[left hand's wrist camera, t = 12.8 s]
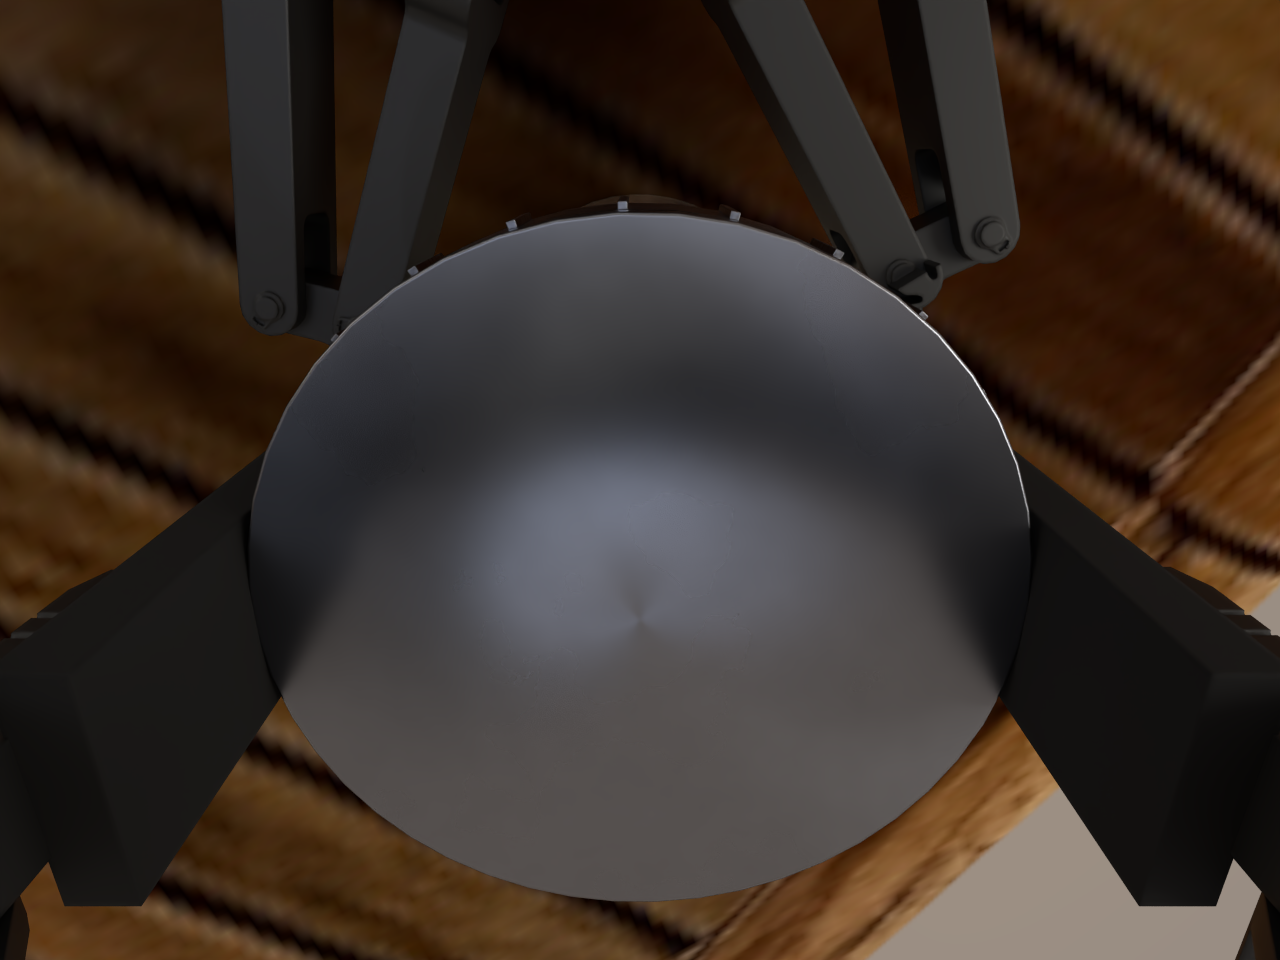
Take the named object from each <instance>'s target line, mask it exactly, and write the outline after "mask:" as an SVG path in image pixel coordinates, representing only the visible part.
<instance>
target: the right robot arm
mask: <svg viewBox="0 0 1280 960" xmlns="http://www.w3.org/2000/svg"><path fill="white" fill-rule="evenodd" d="M701 1H702V3H703V5H704V7H705V9H706V11H707V12H708V14H709V15H710V17H711V18H712V19H713V20H714V22H715V23H716V24H717V26H718V27H719V29H720V31H721V32H722V34H723V36H724V38H725V40H726V42H727V44H728V46H729V48H730V50H731V51H732V53H733V55H734V57H735V59H736V61H737V63H738V65H739V67H740V69H741V71H742V73H743V74H744V76H745V78H746V80H747V82H748V84H749V86H750V88H751V90H752V92H753V94H754V96H755V97H756V99H757V101H758V103H759V105H760V107H761V109H762V111H763V113H764V115H765V117H766V119H767V121H768V122H769V124H770V126H771V128H772V130H773V132H774V134H775V136H776V138H777V140H778V142H779V144H780V145H781V147H782V149H783V151H784V153H785V155H786V157H787V159H788V161H789V163H790V165H791V167H792V168H793V170H794V172H795V174H796V176H797V178H798V180H799V182H800V184H801V186H802V188H803V190H804V191H805V193H806V195H807V197H808V199H809V201H810V203H811V205H812V207H813V209H814V211H815V213H816V214H817V216H818V218H819V220H820V222H821V224H822V226H823V228H824V230H825V232H826V234H827V236H828V237H829V239H830V241H831V243H832V245H833V247H834V248H836V249H838V250H840V251H842V252H844V255H843V256H842V258H841V260H842V261H844V262H846V263H848V264H850V265H852V266H853V267H855V268H856V269H858V270H859V271H861V272H862V273H864V274H866V275H867V276H869V277H870V278H872V279H873V280H875V281H876V282H878V283H879V284H881V285H882V286H884V287H885V288H887V289H888V290H890V291H892V292H893V293H895V294H896V295H898V296H899V297H900V298H901V299H902V300H904V301H905V302H907V303H909V304H911V305H913V306H915V307H916V308H918V309H920V310H922V308H923V307H925V306H927V305H928V304H929V303H930V302H931V301H932V300H934V299H935V298H936V296H937V294H938V293H939V291H940V289H941V287H942V282H943V280H944V279H946V278H947V277H949V276H952V275H954V274H956V273H958V272H960V271H962V270H965V269H967V268H969V267H971V266H973V265H975V264H978V263H983V264H987V263H995V262H997V261H999V260H1001V259H1003V258H1004V257H1006V256H1007V255H1008V254H1009V253H1010V252H1011V251H1012V250H1013V248H1014V247H1015V245H1016V243H1017V240H1018V238H1019V235H1020V220H1019V214H1018V207H1017V200H1016V194H1015V187H1014V181H1013V174H1012V167H1011V161H1010V154H1009V147H1008V141H1007V134H1006V127H1005V121H1004V114H1003V108H1002V101H1001V94H1000V88H999V81H998V74H997V68H996V61H995V54H994V48H993V41H992V35H991V28H990V21H989V15H988V8H987V1H986V0H878V4H879V9H880V14H881V20H882V25H883V30H884V35H885V40H886V45H887V50H888V56H889V61H890V66H891V71H892V76H893V81H894V86H895V92H896V97H897V102H898V107H899V112H900V117H901V122H902V128H903V133H904V138H905V143H906V148H907V153H908V158H909V164H910V169H911V174H912V179H913V184H914V189H915V194H916V200H917V205H918V210H919V215H918V216H916V217H914V218H912V219H910V220H909V218H908V216H907V214H906V212H905V210H904V208H903V206H902V204H901V202H900V199H899V197H898V195H897V193H896V191H895V189H894V187H893V185H892V183H891V181H890V179H889V177H888V175H887V172H886V170H885V168H884V166H883V164H882V162H881V160H880V158H879V156H878V154H877V152H876V150H875V148H874V145H873V143H872V141H871V139H870V137H869V135H868V133H867V131H866V129H865V127H864V125H863V123H862V121H861V118H860V116H859V114H858V112H857V110H856V108H855V106H854V104H853V102H852V100H851V98H850V96H849V94H848V92H847V89H846V87H845V85H844V83H843V81H842V79H841V77H840V75H839V73H838V71H837V69H836V67H835V65H834V62H833V60H832V58H831V56H830V54H829V52H828V50H827V48H826V46H825V44H824V42H823V40H822V38H821V35H820V33H819V31H818V29H817V27H816V25H815V23H814V21H813V19H812V17H811V15H810V13H809V11H808V8H807V6H806V4H805V2H804V0H701ZM508 2H509V0H405V14H404V19H403V24H402V28H401V32H400V36H399V40H398V45H397V49H396V53H395V57H394V61H393V66H392V70H391V74H390V78H389V82H388V87H387V91H386V95H385V99H384V104H383V108H382V112H381V116H380V120H379V125H378V129H377V133H376V137H375V141H374V146H373V150H372V154H371V158H370V162H369V167H368V171H367V175H366V179H365V184H364V188H363V192H362V196H361V200H360V205H359V209H358V213H357V217H356V221H355V226H354V230H353V234H352V238H351V242H350V247H349V251H348V255H347V259H346V264H345V268H344V272H343V276H342V277H341V276H337V235H336V169H335V102H334V36H333V0H222V12H223V29H224V46H225V63H226V79H227V96H228V113H229V129H230V146H231V163H232V179H233V196H234V213H235V230H236V246H237V263H238V280H239V296H240V306H241V310H242V314H243V316H244V318H245V319H246V321H247V322H248V324H249V325H250V326H251V327H253V328H254V329H255V330H257V331H258V332H260V333H263V334H266V335H269V336H273V335H282V334H284V333H289V334H293V335H297V336H301V337H305V338H310V339H314V340H318V341H321V342H324V343H326V344H328V345H331V344H332V343H333V342H332V341H331V339H332V337H333V336H334V335H335V334H336V333H338V332H340V331H341V330H343V329H345V328H346V327H347V326H348V325H349V324H350V323H351V322H352V321H353V320H355V319H356V318H357V317H358V316H359V315H361V314H362V313H363V312H364V311H366V310H367V309H368V308H369V307H370V306H372V305H373V304H374V303H375V302H376V301H378V300H379V299H380V298H381V297H383V296H384V295H385V294H386V293H387V292H389V291H390V290H391V289H392V288H393V287H395V286H397V285H398V284H400V283H402V282H403V281H405V280H407V279H408V278H410V277H411V275H410V274H409V272H408V270H409V269H410V268H412V267H413V266H415V265H417V264H419V263H421V262H423V261H425V260H428V259H430V258H432V257H434V253H435V249H436V246H437V242H438V238H439V235H440V231H441V228H442V224H443V220H444V217H445V213H446V210H447V206H448V202H449V199H450V195H451V191H452V188H453V184H454V181H455V177H456V173H457V170H458V166H459V162H460V159H461V155H462V152H463V148H464V144H465V141H466V137H467V133H468V130H469V126H470V123H471V119H472V115H473V112H474V108H475V105H476V101H477V97H478V94H479V90H480V86H481V83H482V79H483V76H484V72H485V68H486V65H487V61H488V58H489V55H490V52H491V50H492V48H493V46H494V45H495V43H496V41H497V39H498V36H499V34H500V30H501V27H502V24H503V20H504V17H505V13H506V10H507V6H508Z"/></svg>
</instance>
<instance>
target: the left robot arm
mask: <svg viewBox="0 0 1280 960" xmlns="http://www.w3.org/2000/svg"><path fill="white" fill-rule="evenodd" d="M1013 451H1014V450H1013ZM265 453H266V451H265V452H264V453H262V454H261V455H260V456H259V457H257V458H256V459H255V460H253V461H252V462H251V463H250V464H248V465H247V466H246V467H245V468H243V469H242V470H241V471H239V472H238V473H237V474H236V475H234V476H233V477H232V478H231V479H229V480H228V481H227V482H225V483H224V484H223V485H222V486H220V487H219V488H218V489H216V490H215V491H214V492H213V493H211V494H210V495H209V496H208V497H206V498H205V499H204V500H202V501H201V502H200V503H199V504H197V505H196V506H195V507H194V508H192V509H191V510H190V511H188V512H187V513H186V514H185V515H183V516H182V517H181V518H179V519H178V520H177V521H176V522H174V523H173V524H172V525H171V526H169V527H168V528H167V529H165V530H164V531H163V532H162V533H160V534H159V535H158V536H157V537H155V538H154V539H153V540H151V541H150V542H149V543H148V544H146V545H145V546H144V547H142V548H141V549H140V550H139V551H137V552H136V553H135V554H134V555H132V556H131V557H130V558H128V559H127V560H126V561H125V562H123V563H122V564H121V565H120V566H118V567H117V568H116V569H114V570H110V571H108V572H105V573H103V574H101V575H99V576H97V577H95V578H93V579H91V580H88V581H86V582H84V583H82V584H80V585H78V586H76V587H74V588H71V589H69V590H68V591H66V592H65V593H64V594H62V595H61V596H60V597H58V598H57V599H56V600H55V601H53V602H52V603H51V604H49V605H48V606H47V607H45V608H44V609H43V610H41V611H40V612H39V613H37V615H38V616H37V618H31V619H29V620H28V621H27V622H25V623H24V624H23V625H21V626H20V627H19V628H18V629H16V630H15V631H14V632H12V633H11V638H4V639H3V640H2V641H0V960H25V956H26V950H27V944H28V937H29V931H30V929H29V924H28V918H27V913H26V910H25V908H24V905H23V903H22V900H21V897H20V895H21V893H22V892H23V891H24V890H25V889H26V887H27V886H28V885H29V884H30V883H31V881H32V880H33V879H34V878H35V877H36V875H37V874H38V873H39V872H40V871H41V870H42V868H43V867H44V866H45V865H46V864H47V862H49V864H50V867H51V870H52V873H53V875H54V878H55V881H56V884H57V886H58V889H59V892H60V895H61V897H62V900H63V903H64V906H142V905H143V903H144V902H145V900H146V899H147V897H148V896H149V894H150V893H151V891H152V890H153V888H154V887H155V885H156V884H157V882H158V881H159V879H160V878H161V876H162V875H163V873H164V872H165V870H166V869H167V867H168V866H169V864H170V863H171V861H172V860H173V858H174V856H175V855H176V853H177V852H178V850H179V849H180V847H181V846H182V844H183V843H184V841H185V840H186V838H187V837H188V835H189V834H190V832H191V831H192V829H193V828H194V826H195V825H196V823H197V822H198V820H199V819H200V817H201V816H202V814H203V813H204V811H205V810H206V808H207V807H208V805H209V804H210V802H211V801H212V799H213V798H214V796H215V795H216V793H217V792H218V790H219V789H220V787H221V786H222V784H223V783H224V781H225V780H226V778H227V777H228V775H229V774H230V772H231V771H232V769H233V768H234V766H235V765H236V763H237V762H238V760H239V759H240V757H241V756H242V754H243V753H244V751H245V750H246V748H247V747H248V745H249V744H250V742H251V741H252V739H253V738H254V736H255V735H256V733H257V732H258V730H259V729H260V727H261V726H262V724H263V723H264V721H265V720H266V718H267V717H268V715H269V714H270V712H271V711H272V709H273V708H274V706H275V705H276V703H277V702H278V700H279V699H280V697H281V694H280V692H279V690H278V688H277V686H276V684H275V682H274V680H273V678H272V676H271V673H270V670H269V668H268V665H267V662H266V659H265V656H264V653H263V650H262V647H261V643H260V639H259V635H258V630H257V625H256V620H255V615H254V610H253V605H252V600H251V595H250V590H249V572H248V537H249V528H250V519H251V510H252V502H253V496H254V492H255V489H256V485H257V482H258V478H259V474H260V471H261V467H262V463H263V460H264V456H265ZM1014 454H1015V456H1016V459H1017V461H1018V464H1019V469H1020V473H1021V477H1022V481H1023V486H1024V490H1025V494H1026V498H1027V503H1028V507H1029V515H1030V528H1031V541H1032V554H1033V560H1032V573H1031V586H1030V596H1029V601H1028V606H1027V611H1026V616H1025V621H1024V625H1023V630H1022V635H1021V640H1020V644H1019V648H1018V651H1017V654H1016V656H1015V659H1014V661H1013V664H1012V667H1011V669H1010V672H1009V675H1008V677H1007V680H1006V682H1005V685H1004V687H1003V689H1002V691H1001V693H1000V695H999V697H1000V698H1001V700H1002V701H1003V703H1004V704H1005V706H1006V707H1007V709H1008V710H1009V712H1010V713H1011V715H1012V716H1013V718H1014V719H1015V721H1016V722H1017V724H1018V725H1019V727H1020V728H1021V730H1022V731H1023V733H1024V734H1025V736H1026V737H1027V739H1028V740H1029V742H1030V743H1031V745H1032V746H1033V748H1034V749H1035V751H1036V752H1037V754H1038V755H1039V757H1040V758H1041V760H1042V761H1043V763H1044V764H1045V766H1046V767H1047V769H1048V770H1049V772H1050V773H1051V775H1052V776H1053V778H1054V779H1055V781H1056V782H1057V784H1058V785H1059V787H1060V788H1061V790H1062V791H1063V793H1064V794H1065V796H1066V797H1067V799H1068V800H1069V802H1070V803H1071V805H1072V806H1073V808H1074V809H1075V811H1076V812H1077V814H1078V815H1079V817H1080V818H1081V820H1082V821H1083V823H1084V824H1085V826H1086V827H1087V829H1088V830H1089V832H1090V833H1091V835H1092V836H1093V838H1094V839H1095V841H1096V842H1097V844H1098V845H1099V847H1100V848H1101V850H1102V851H1103V853H1104V854H1105V856H1106V857H1107V859H1108V860H1109V862H1110V863H1111V865H1112V866H1113V868H1114V869H1115V871H1116V872H1117V874H1118V875H1119V877H1120V878H1121V880H1122V881H1123V883H1124V884H1125V886H1126V887H1127V889H1128V890H1129V892H1130V893H1131V895H1132V896H1133V898H1134V899H1135V901H1136V902H1137V904H1138V905H1139V906H1216V905H1217V902H1218V899H1219V896H1220V894H1221V891H1222V888H1223V885H1224V883H1225V880H1226V877H1227V874H1228V872H1229V869H1230V866H1231V864H1232V861H1233V858H1234V860H1235V861H1236V862H1237V863H1238V864H1239V865H1240V867H1241V868H1242V869H1243V870H1244V871H1245V873H1246V874H1247V875H1248V876H1249V877H1250V878H1251V880H1252V881H1253V882H1254V883H1255V884H1256V886H1257V887H1258V888H1259V889H1260V890H1261V891H1262V892H1261V895H1260V898H1259V900H1258V903H1257V905H1256V908H1255V910H1254V913H1253V915H1252V918H1251V921H1250V923H1249V926H1248V928H1247V931H1246V933H1245V936H1244V938H1243V941H1242V944H1241V946H1240V949H1239V951H1238V954H1237V956H1236V959H1235V960H1280V637H1279V636H1278V635H1271V633H1270V631H1271V630H1270V629H1268V628H1267V627H1266V626H1264V625H1263V624H1262V623H1260V622H1259V621H1258V620H1256V619H1255V618H1254V617H1252V616H1251V615H1245V614H1244V610H1243V609H1242V608H1240V607H1239V606H1238V605H1236V604H1235V603H1234V602H1232V601H1231V600H1230V599H1228V598H1227V597H1226V596H1224V595H1223V594H1222V593H1220V592H1219V591H1218V590H1216V589H1215V588H1214V587H1212V586H1210V585H1208V584H1206V583H1203V582H1201V581H1199V580H1197V579H1195V578H1193V577H1191V576H1188V575H1186V574H1184V573H1182V572H1180V571H1178V570H1176V569H1173V568H1171V567H1162V566H1161V565H1160V564H1158V563H1157V562H1156V561H1155V560H1153V559H1152V558H1151V557H1150V556H1148V555H1147V554H1146V553H1144V552H1143V551H1142V550H1141V549H1139V548H1138V547H1137V546H1136V545H1134V544H1133V543H1132V542H1130V541H1129V540H1128V539H1127V538H1125V537H1124V536H1123V535H1121V534H1120V533H1119V532H1118V531H1116V530H1115V529H1114V528H1113V527H1111V526H1110V525H1109V524H1107V523H1106V522H1105V521H1104V520H1102V519H1101V518H1100V517H1099V516H1097V515H1096V514H1095V513H1093V512H1092V511H1091V510H1090V509H1088V508H1087V507H1086V506H1084V505H1083V504H1082V503H1081V502H1079V501H1078V500H1077V499H1076V498H1074V497H1073V496H1072V495H1070V494H1069V493H1068V492H1067V491H1065V490H1064V489H1063V488H1062V487H1060V486H1059V485H1058V484H1056V483H1055V482H1054V481H1053V480H1051V479H1050V478H1049V477H1047V476H1046V475H1045V474H1044V473H1042V472H1041V471H1040V470H1039V469H1037V468H1036V467H1035V466H1033V465H1032V464H1031V463H1030V462H1028V461H1027V460H1026V459H1025V458H1023V457H1022V456H1021V455H1019V454H1018V453H1017V452H1016V451H1014Z"/></svg>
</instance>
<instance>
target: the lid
mask: <svg viewBox="0 0 1280 960" xmlns="http://www.w3.org/2000/svg"><path fill="white" fill-rule="evenodd" d="M740 214H741V213H740V212H738V211H736V210H735V209H733V208H731V207H729V206H727V205H722V204H720V207H719V211H716V210H710V209H704V208H697V207H691V206H685V205H678V204H670V203H629V196H620V198H619V200H618V202H617V203H614V204H606V205H597V206H589V207H581V208H573V209H567V210H564V211H560V212H556V213H552V214H549V215H545V216H541V217H537V218H534V219H532V217H531V214H530V212H528V213H525V214H522V215H520V216H518V217H516V218H514V219H512V220H510V221H507V222H506V225H507V228H505V229H503V230H500V231H498V232H496V233H493V234H491V235H489V236H486V237H484V238H482V239H479V240H477V241H474V242H473V243H471V244H469V245H467V246H465V247H463V248H461V249H459V250H457V251H455V252H453V253H451V254H449V255H447V256H445V257H444V256H443V254H442V253H440V254H438V255H436V256H434V257H432V258H430V259H428V260H425V261H423V262H421V263H419V264H417V265H415V266H413V267H412V268H410V269H409V270H408V272H409V274H410V275H411V277H410V278H408V279H407V280H405V281H403V282H402V283H400V284H398V285H397V286H395V287H393V288H392V289H391V290H390V291H389V292H387V293H386V294H385V295H384V296H383V297H381V298H380V299H379V300H378V301H376V302H375V303H374V304H373V305H372V306H370V307H369V308H368V309H367V310H366V311H364V312H363V313H362V314H361V315H359V316H358V317H357V318H356V319H355V320H353V321H352V322H351V323H350V324H349V325H348V326H347V327H346V328H345V329H343V330H341V331H340V332H338V333H336V334H335V335H334V336H333V337H332V339H331V341H332V342H333V343H332V344H331V345H330V346H329V347H328V349H327V350H326V351H325V352H324V353H323V354H322V355H321V356H320V357H319V359H318V360H317V361H316V362H315V363H314V365H313V366H312V368H311V369H310V371H309V372H308V374H307V375H306V377H305V378H304V380H303V381H302V383H301V384H300V386H299V388H298V389H297V391H296V392H295V394H294V395H293V397H292V398H291V400H290V401H289V403H288V404H287V406H286V408H285V410H284V412H283V415H282V417H281V419H280V421H279V423H278V426H277V428H276V430H275V432H274V434H273V437H272V439H271V441H270V443H269V446H268V448H267V450H266V453H265V456H264V460H263V463H262V467H261V471H260V474H259V478H258V482H257V485H256V489H255V492H254V496H253V502H252V510H251V519H250V528H249V537H248V572H249V590H250V595H251V600H252V605H253V610H254V615H255V620H256V625H257V630H258V635H259V639H260V643H261V647H262V650H263V653H264V656H265V659H266V662H267V665H268V668H269V670H270V673H271V676H272V678H273V680H274V682H275V684H276V686H277V688H278V690H279V692H280V694H281V696H282V698H283V700H284V702H285V704H286V706H287V708H288V710H289V712H290V714H291V716H292V718H293V719H294V721H295V722H296V723H297V725H298V726H299V728H300V729H301V731H302V732H303V734H304V735H305V737H306V738H307V740H308V741H309V743H310V744H311V745H312V747H313V748H314V750H315V751H316V753H317V754H318V755H319V756H320V757H321V758H322V759H323V760H324V762H325V763H326V764H327V765H328V766H329V767H330V768H331V770H332V771H333V772H334V773H335V774H336V775H337V776H338V778H339V779H340V780H341V781H342V782H343V783H344V784H345V785H346V786H347V787H348V788H349V789H350V790H351V791H353V792H354V793H355V794H356V795H357V796H358V797H359V798H360V799H362V800H363V801H364V802H365V803H366V804H367V805H368V806H369V807H370V808H372V809H373V810H374V811H375V812H376V813H377V814H379V815H380V816H382V817H383V818H385V819H386V820H387V821H389V822H390V823H392V824H393V825H394V826H396V827H397V828H399V829H400V830H401V831H403V832H404V833H406V834H407V835H409V836H410V837H411V838H413V839H415V840H417V841H419V842H420V843H422V844H424V845H426V846H428V847H429V848H431V849H433V850H435V851H437V852H438V853H440V854H442V855H444V856H446V857H447V858H449V859H452V860H454V861H456V862H459V863H461V864H463V865H466V866H468V867H470V868H473V869H475V870H477V871H480V872H482V873H484V874H487V875H489V876H493V877H496V878H499V879H502V880H505V881H509V882H512V883H515V884H518V885H521V886H525V887H528V888H532V889H537V890H542V891H547V892H551V893H556V894H561V895H566V896H571V897H580V898H589V899H599V900H608V901H650V902H657V901H669V900H681V899H692V898H701V897H707V896H712V895H718V894H723V893H729V892H734V891H740V890H744V889H747V888H751V887H754V886H758V885H761V884H765V883H768V882H771V881H775V880H778V879H782V878H785V877H787V876H790V875H792V874H795V873H797V872H800V871H802V870H805V869H807V868H810V867H812V866H815V865H817V864H820V863H822V862H824V861H826V860H828V859H830V858H832V857H834V856H835V855H837V854H839V853H841V852H843V851H845V850H847V849H849V848H851V847H853V846H855V845H856V844H858V843H860V842H862V841H863V840H865V839H866V838H868V837H869V836H871V835H872V834H874V833H875V832H877V831H878V830H880V829H881V828H883V827H884V826H886V825H887V824H889V823H890V822H892V821H893V820H895V819H896V818H897V817H898V816H899V815H901V814H902V813H903V812H904V811H905V810H907V809H908V808H909V807H910V806H911V805H912V804H914V803H915V802H916V801H917V800H918V799H920V798H921V797H922V796H923V795H924V794H925V793H927V792H928V791H929V790H930V789H931V788H932V787H933V786H934V784H935V783H936V782H937V781H938V780H939V779H940V778H941V777H942V776H943V775H944V774H945V773H946V772H947V771H948V770H949V768H950V767H951V766H952V765H953V764H954V763H955V762H956V761H957V760H958V759H959V757H960V756H961V754H962V753H963V752H964V750H965V749H966V748H967V746H968V745H969V743H970V742H971V741H972V739H973V738H974V737H975V735H976V734H977V732H978V731H979V730H980V728H981V727H982V726H983V724H984V722H985V720H986V719H987V717H988V715H989V713H990V711H991V709H992V708H993V706H994V704H995V702H996V700H997V698H998V697H999V695H1000V693H1001V691H1002V689H1003V687H1004V685H1005V682H1006V680H1007V677H1008V675H1009V672H1010V669H1011V667H1012V664H1013V661H1014V659H1015V656H1016V654H1017V651H1018V648H1019V644H1020V640H1021V635H1022V630H1023V625H1024V621H1025V616H1026V611H1027V606H1028V601H1029V596H1030V586H1031V573H1032V560H1033V554H1032V541H1031V528H1030V515H1029V507H1028V503H1027V498H1026V494H1025V490H1024V486H1023V481H1022V477H1021V473H1020V469H1019V464H1018V461H1017V459H1016V456H1015V454H1014V451H1013V449H1012V447H1011V444H1010V442H1009V439H1008V437H1007V434H1006V432H1005V429H1004V427H1003V424H1002V422H1001V420H1000V417H999V415H998V414H997V412H996V410H995V409H994V407H993V405H992V404H991V402H990V400H989V399H988V397H987V395H986V393H985V391H984V389H982V387H981V385H980V384H979V382H978V380H977V379H976V377H975V375H974V374H973V372H972V371H971V370H970V369H969V368H968V366H967V365H966V364H965V363H964V362H963V360H962V359H961V358H960V357H959V356H958V354H957V353H956V352H955V351H954V350H953V348H952V347H951V346H950V345H949V344H948V342H947V341H946V340H945V339H944V338H943V336H942V335H941V334H940V333H939V332H938V331H937V330H936V329H935V328H934V327H933V326H931V325H930V324H929V323H928V322H927V321H926V319H927V318H928V316H927V315H926V314H925V313H924V312H923V311H922V310H920V309H918V308H916V307H915V306H913V305H911V304H909V303H907V302H905V301H904V300H902V299H901V298H900V297H899V296H898V295H896V294H895V293H893V292H892V291H890V290H888V289H887V288H885V287H884V286H882V285H881V284H879V283H878V282H876V281H875V280H873V279H872V278H870V277H869V276H867V275H866V274H864V273H862V272H861V271H859V270H858V269H856V268H855V267H853V266H852V265H850V264H848V263H846V262H844V261H842V260H841V258H842V256H843V255H844V252H842V251H840V250H838V249H836V248H834V247H832V246H830V245H828V244H825V243H823V242H821V241H819V240H817V239H815V238H812V240H811V242H810V244H808V243H806V242H804V241H802V240H800V239H798V238H795V237H793V236H791V235H789V234H787V233H785V232H783V231H780V230H778V229H776V228H774V227H772V226H769V225H766V224H762V223H759V222H756V221H752V220H749V219H746V218H743V217H740Z"/></svg>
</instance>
